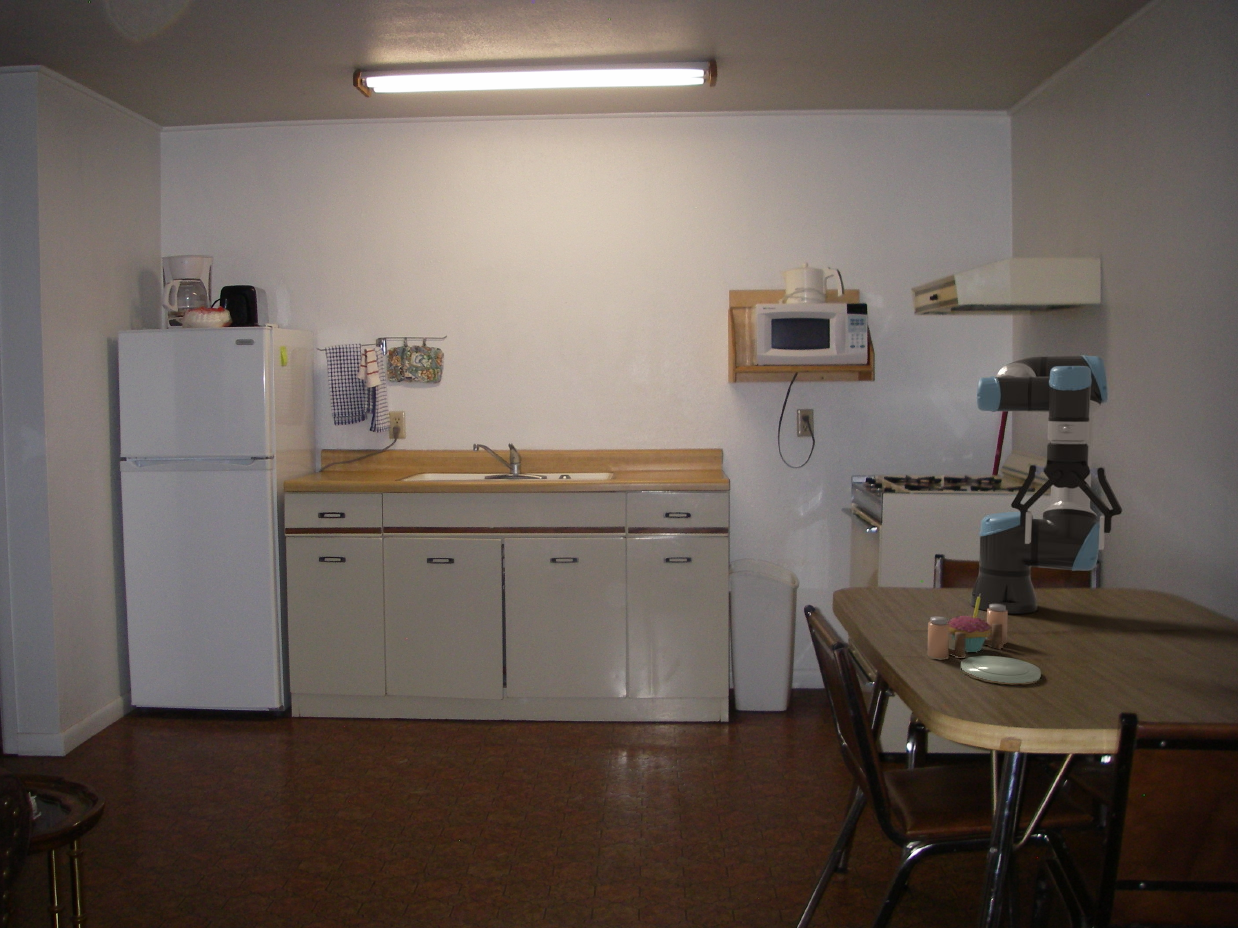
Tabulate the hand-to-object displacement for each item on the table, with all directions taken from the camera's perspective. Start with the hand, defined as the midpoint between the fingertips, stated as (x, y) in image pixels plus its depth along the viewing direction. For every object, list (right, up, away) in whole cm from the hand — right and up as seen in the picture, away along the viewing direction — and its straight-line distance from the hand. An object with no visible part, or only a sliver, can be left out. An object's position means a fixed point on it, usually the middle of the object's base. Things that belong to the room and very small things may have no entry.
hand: (1063, 545), depth 185 cm
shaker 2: (-11, -21, +7) cm, 25 cm away
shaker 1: (-27, -22, -3) cm, 35 cm away
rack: (-19, -22, +2) cm, 29 cm away
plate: (-19, -23, -13) cm, 33 cm away
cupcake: (-19, -22, +2) cm, 29 cm away
